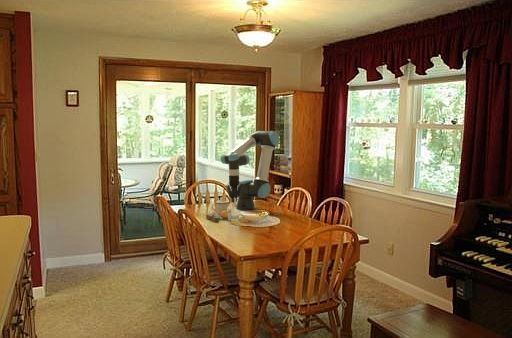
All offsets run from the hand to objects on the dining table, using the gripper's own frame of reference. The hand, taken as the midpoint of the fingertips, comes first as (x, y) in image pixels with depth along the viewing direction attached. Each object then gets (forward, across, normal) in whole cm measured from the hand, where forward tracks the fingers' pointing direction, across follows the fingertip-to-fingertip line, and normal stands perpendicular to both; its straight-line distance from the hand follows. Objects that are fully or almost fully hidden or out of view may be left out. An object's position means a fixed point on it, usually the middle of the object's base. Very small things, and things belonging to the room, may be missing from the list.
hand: (234, 206), depth 332 cm
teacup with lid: (+8, +3, -17) cm, 19 cm away
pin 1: (+7, +12, 0) cm, 14 cm away
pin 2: (+8, +9, +7) cm, 14 cm away
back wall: (+8, +19, 0) cm, 20 cm away
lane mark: (+8, +4, 0) cm, 9 cm away
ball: (+5, +8, 0) cm, 10 cm away
